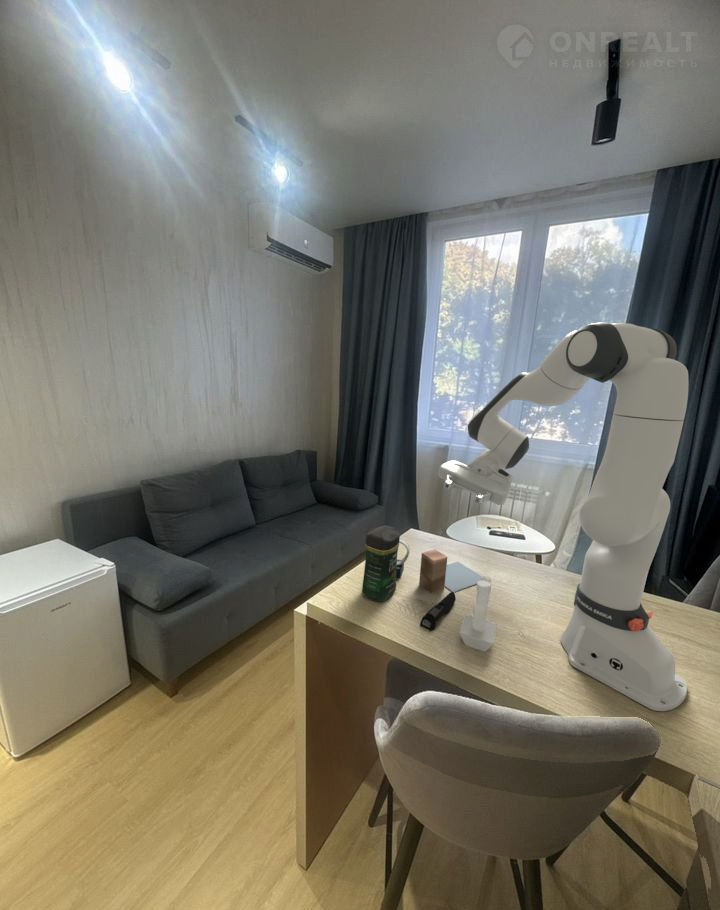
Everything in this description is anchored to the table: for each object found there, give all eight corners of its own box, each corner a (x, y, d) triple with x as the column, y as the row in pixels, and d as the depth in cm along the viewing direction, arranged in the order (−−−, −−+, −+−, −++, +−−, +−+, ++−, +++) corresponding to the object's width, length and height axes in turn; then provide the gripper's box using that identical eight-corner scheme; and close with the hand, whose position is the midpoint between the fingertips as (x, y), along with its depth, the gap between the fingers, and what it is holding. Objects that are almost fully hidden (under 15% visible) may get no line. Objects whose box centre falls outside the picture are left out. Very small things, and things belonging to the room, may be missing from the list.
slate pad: (487, 580, 111) (487, 579, 111) (453, 592, 104) (453, 591, 104) (457, 562, 121) (457, 561, 121) (424, 572, 114) (424, 571, 114)
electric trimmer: (458, 604, 100) (460, 594, 99) (432, 633, 88) (433, 621, 87) (446, 599, 102) (447, 588, 101) (418, 626, 90) (419, 614, 89)
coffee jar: (383, 606, 96) (387, 540, 92) (357, 595, 100) (360, 531, 96) (400, 589, 104) (405, 527, 100) (376, 580, 108) (379, 520, 104)
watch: (383, 566, 117) (385, 533, 114) (409, 571, 114) (411, 537, 112) (379, 574, 111) (381, 540, 109) (405, 580, 109) (408, 545, 107)
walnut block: (444, 589, 105) (447, 556, 103) (430, 593, 103) (433, 560, 101) (432, 580, 110) (435, 549, 107) (419, 584, 107) (421, 552, 105)
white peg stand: (456, 649, 82) (463, 588, 79) (464, 625, 91) (471, 569, 87) (490, 661, 79) (499, 598, 76) (495, 635, 88) (503, 577, 84)
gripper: (452, 451, 114) (430, 468, 105) (518, 478, 104) (500, 500, 95) (448, 468, 118) (426, 486, 108) (511, 496, 107) (493, 519, 98)
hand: (461, 493), depth 101 cm, fingers open, 8 cm apart
